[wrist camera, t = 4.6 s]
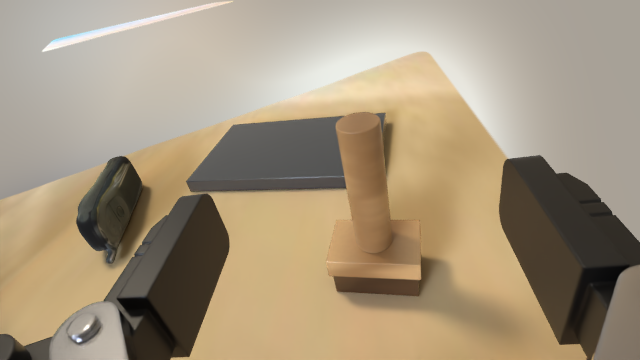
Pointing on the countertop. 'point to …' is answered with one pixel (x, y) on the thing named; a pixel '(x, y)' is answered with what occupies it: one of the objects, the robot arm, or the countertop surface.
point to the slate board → (275, 157)
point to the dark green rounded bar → (109, 206)
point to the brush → (371, 220)
